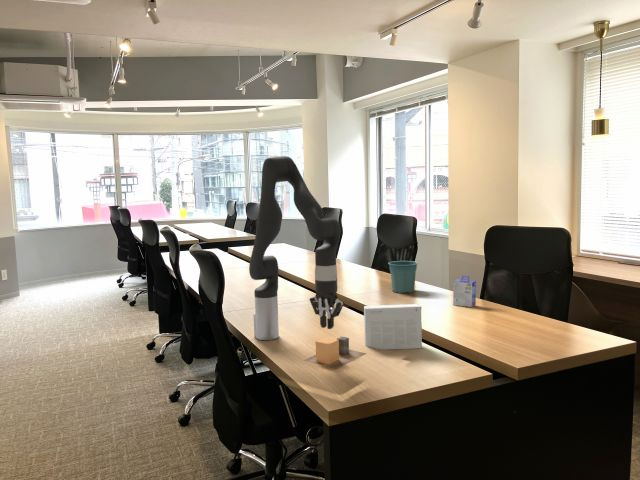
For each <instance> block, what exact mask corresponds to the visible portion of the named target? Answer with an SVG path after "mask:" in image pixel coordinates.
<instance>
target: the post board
mask: <svg viewBox="0 0 640 480" xmlns="http://www.w3.org/2000/svg"><path fill="white" fill-rule="evenodd" d="M336 339H337V340H339V360H337V361H335V362H333V363H331V364H325V363H322V362H318V361H316V354H315V355H313V356H310V357H308V358H306V359H304V361H305V362H310V363H313V364H317V365H319V366H324V367H328V368H331V369H335V370H336V369H337V370H338V369H339V368H342V367H343V366H345V365H347V364H349V363H351V362H353V361H354V360H357V359H358V358H361V357H362V356H364V355H367V353H366V352H363V351H358V350H354V349H350V340H349V339H350V338H349V337H348V336H347V337H346V336H340V337H338V338H336Z"/></svg>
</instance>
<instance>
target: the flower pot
mask: <svg viewBox="0 0 640 480" xmlns="http://www.w3.org/2000/svg"><path fill="white" fill-rule="evenodd" d="M387 264H388V266H389V272H390V280H391V290H392V292H394V293H397V292H398V293H397V294H399V293H400V294H405V293H408V294H409V293H414V291H415V287H416V286H415V285H416V276H417V275H416V274H417V269H418V268H417V267H418V262H417V261H413V260H397V261H396V260H395V261H390V262H388V263H387Z"/></svg>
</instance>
